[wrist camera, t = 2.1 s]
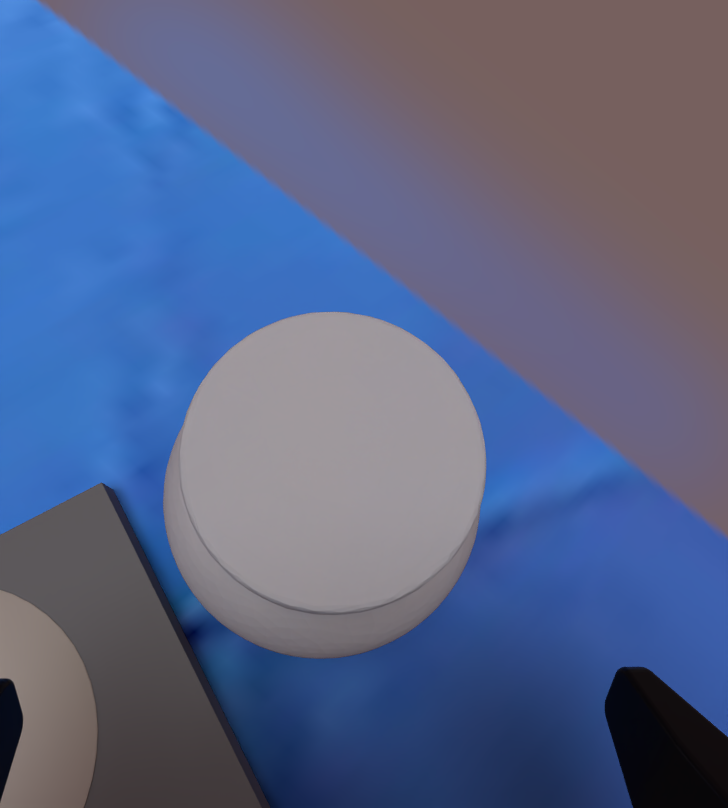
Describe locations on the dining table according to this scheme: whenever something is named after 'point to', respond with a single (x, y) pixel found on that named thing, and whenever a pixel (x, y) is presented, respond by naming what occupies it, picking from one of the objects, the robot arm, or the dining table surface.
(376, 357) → the pill bottle
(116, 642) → the panel board
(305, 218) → the dining table surface
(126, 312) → the dining table surface
